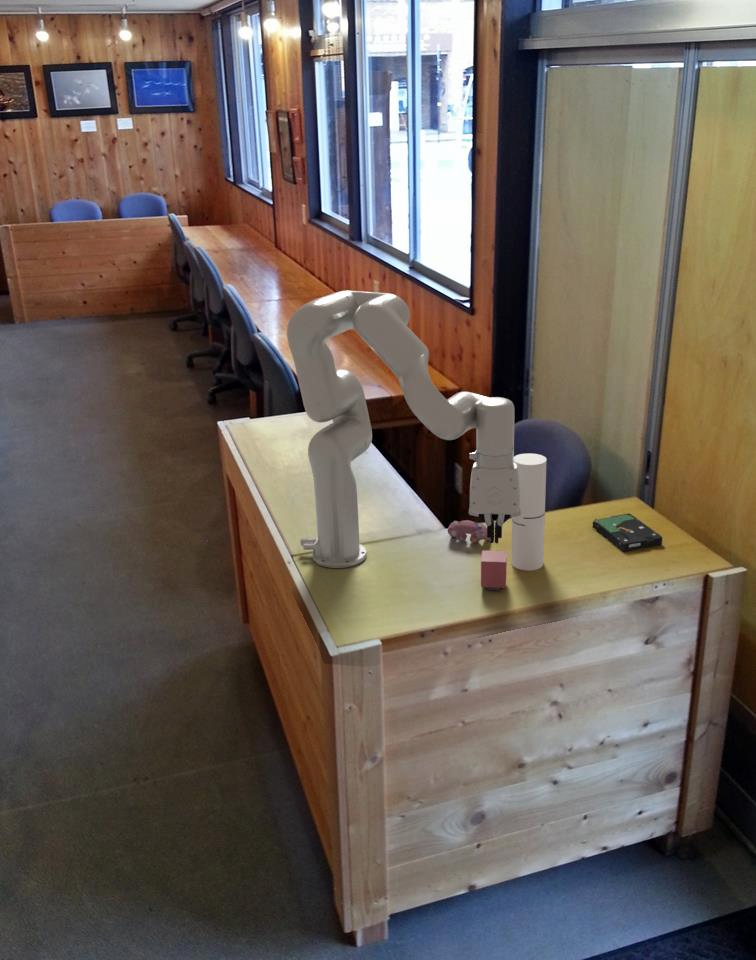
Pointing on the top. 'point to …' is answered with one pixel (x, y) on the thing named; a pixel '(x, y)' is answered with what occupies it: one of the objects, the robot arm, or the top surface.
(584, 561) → the top surface
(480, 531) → the purple lumpy figure
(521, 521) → the cylindrical container
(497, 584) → the pink matte cube
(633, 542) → the disk drive
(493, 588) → the post
